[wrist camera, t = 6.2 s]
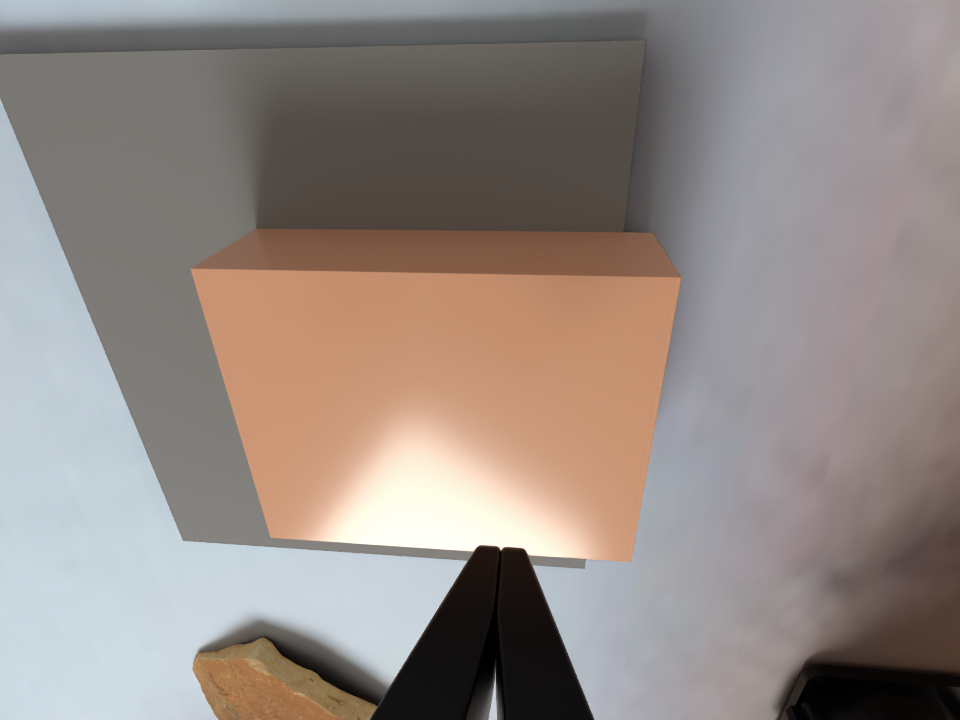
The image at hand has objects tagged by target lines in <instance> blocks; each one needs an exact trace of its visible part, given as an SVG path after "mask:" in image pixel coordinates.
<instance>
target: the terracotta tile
mask: <svg viewBox="0 0 960 720" xmlns="http://www.w3.org/2000/svg"><path fill="white" fill-rule="evenodd" d="M191 272H192V276H193V279H194V283H195V286H196V289H197V293H198V296H199V299H200V303H201V306H202V309H203V313H204V316H205V319H206V323H207V326H208V329H209V333H210V336H211V340H212V343H213V346H214V350H215V353H216V356H217V360H218V363H219V366H220V370H221V373H222V376H223V380H224V383H225V386H226V390H227V393H228V396H229V400H230V403H231V407H232V410H233V413H234V417H235V420H236V423H237V427H238V430H239V433H240V437H241V440H242V443H243V447H244V450H245V453H246V457H247V460H248V464H249V467H250V470H251V474H252V477H253V480H254V484H255V487H256V490H257V494H258V497H259V500H260V504H261V507H262V510H263V514H264V517H265V521H266V524H267V527H268V531H269V534H270V537H271V538H282V539H296V540H311V541H326V542H341V543H356V544H371V545H385V546H400V547H415V548H430V549H445V550H459V551H474V550H475V549H476V548H477V546H479V545H488V546H498V547H499V548H500V549H501V550H502V548H504V547H517V548H524V549H525V550H526V552H527V554H528V555H533V556H548V557H563V558H578V559H593V560H607V561H622V562H631V559H632V554H633V548H634V542H635V537H636V531H637V525H638V520H639V514H640V508H641V503H642V497H643V491H644V486H645V480H646V474H647V469H648V463H649V457H650V452H651V446H652V440H653V435H654V429H655V423H656V418H657V412H658V406H659V401H660V395H661V389H662V384H663V378H664V372H665V367H666V361H667V355H668V350H669V344H670V338H671V333H672V327H673V321H674V316H675V310H676V304H677V299H678V293H679V288H680V282H681V276H680V275H679V273H678V272H677V270H676V268H675V267H674V265H673V264H672V262H671V260H670V259H669V257H668V256H667V254H666V252H665V251H664V249H663V248H662V246H661V244H660V243H659V241H658V240H657V238H656V236H655V235H654V233H635V232H539V231H443V230H347V229H255V230H253V231H251V232H250V233H248V234H246V235H245V236H243V237H241V238H240V239H238V240H237V241H235V242H233V243H232V244H230V245H228V246H227V247H225V248H223V249H222V250H220V251H219V252H217V253H215V254H214V255H212V256H210V257H209V258H207V259H205V260H204V261H202V262H201V263H199V264H197V265H196V266H194V267H192V268H191Z"/></svg>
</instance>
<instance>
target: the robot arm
mask: <svg viewBox="0 0 960 720" xmlns="http://www.w3.org/2000/svg"><path fill="white" fill-rule="evenodd" d="M495 671H496V702H497V720H594V718H593V715H592V713H591V710H590V708H589V705H588V703H587V700H586V698H585V695H584V693H583V690H582V688H581V685H580V683H579V680H578V678H577V675H576V673H575V670H574V668H573V666H572V663H571V661H570V658H569V656H568V653H567V651H566V648H565V646H564V643H563V641H562V638H561V636H560V633H559V631H558V628H557V626H556V623H555V621H554V618H553V616H552V613H551V611H550V608H549V606H548V603H547V601H546V598H545V596H544V594H543V591H542V589H541V586H540V584H539V581H538V579H537V576H536V574H535V571H534V569H533V566H532V564H531V561H530V559H529V556H528V554H527V552H526V550H525V549H524V548H517V547H504V548H502V550H501V549H500V548H499V547H498V546H488V545H479V546H477V548H476V549H475V550H474V552H473V553H472V555H471V556H470V558H469V560H468V561H467V563H466V565H465V566H464V568H463V569H462V571H461V573H460V574H459V576H458V577H457V579H456V581H455V582H454V584H453V586H452V587H451V589H450V590H449V592H448V594H447V595H446V597H445V598H444V600H443V602H442V603H441V605H440V606H439V608H438V610H437V611H436V613H435V615H434V616H433V618H432V619H431V621H430V623H429V624H428V626H427V627H426V629H425V631H424V632H423V634H422V635H421V637H420V639H419V640H418V642H417V644H416V645H415V647H414V648H413V650H412V652H411V653H410V655H409V656H408V658H407V660H406V661H405V663H404V665H403V666H402V668H401V669H400V671H399V673H398V674H397V676H396V677H395V679H394V681H393V682H392V684H391V685H390V687H389V689H388V690H387V692H386V694H385V695H384V697H383V698H382V700H381V702H380V703H379V705H378V706H377V708H376V710H375V711H374V713H373V715H372V716H371V718H370V720H488V718H489V713H490V707H491V701H492V695H493V688H494V682H495ZM779 720H960V677H951V676H939V675H927V674H915V673H903V672H891V671H879V670H867V669H855V668H843V667H831V666H810V667H808V668H806V669H804V670H803V671H802V673H801V675H800V677H799V679H798V681H797V683H796V685H795V688H794V690H793V692H792V694H791V696H790V698H789V700H788V702H787V704H786V706H785V708H784V711H783V713H782V715H781V717H780V719H779Z"/></svg>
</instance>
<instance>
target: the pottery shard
mask: <svg viewBox="0 0 960 720" xmlns="http://www.w3.org/2000/svg"><path fill="white" fill-rule="evenodd" d="M193 672H194V674H195V676H196V678H197V679H198V681H199V683H200V685H201V688H202V691H203V693H204V694H205V697H206V699H207V701H208V703H209V705H210V706H211V708H212V710H213V712H214V714H215V715H216V717H217V718H218V720H370V718H371V716H372V715H373V713H374V711H375V710H376V708H377V706H376V705H375V704H373V703H370V702H368V701H365V700H363V699H360V698H358V697H356V696H353V695H351V694H349V693H347V692H344V691H342V690H340V689H338V688H336V687H335V686H333V685H331V684H330V683H328V682H326V681H324V680H323V679H321V677H320V676H319V675H318V674H317V673H315V672H313V671H311V670H308V669H305V668H303V667H301V666H299V665H296V664H295V663H293V662H292V661H290V660H289V659H287V658H285V657H284V656H282V655H281V654H280V653H279V651H278V650H277V649H276V647H275V646H274V645H273V643H272V642H270V641H269V640H267V639H266V638H264V637H263V638H259V639H258V640H256V641H254V642H252V643H247V644H235V645H232V646H229V647H226V648H223V649H221V650H215V651H209V652H203V653H198V654H197V657H196V660H195V662H194V664H193Z"/></svg>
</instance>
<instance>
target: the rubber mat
mask: <svg viewBox="0 0 960 720" xmlns="http://www.w3.org/2000/svg"><path fill="white" fill-rule="evenodd" d="M645 45H646V40H623V41H578V42H532V43H487V44H442V45H397V46H351V47H306V48H261V49H216V50H171V51H125V52H80V53H35V54H0V98H1V101H2V103H3V106H4V108H5V111H6V113H7V115H8V118H9V120H10V123H11V125H12V128H13V130H14V132H15V135H16V137H17V140H18V142H19V144H20V147H21V149H22V152H23V154H24V157H25V159H26V161H27V164H28V166H29V169H30V171H31V174H32V176H33V178H34V181H35V183H36V186H37V188H38V190H39V193H40V195H41V198H42V200H43V203H44V205H45V207H46V210H47V212H48V215H49V217H50V220H51V222H52V224H53V227H54V229H55V232H56V234H57V236H58V239H59V241H60V244H61V246H62V249H63V251H64V253H65V256H66V258H67V261H68V263H69V266H70V268H71V270H72V273H73V275H74V278H75V280H76V282H77V285H78V287H79V290H80V292H81V295H82V297H83V299H84V302H85V304H86V307H87V309H88V312H89V314H90V316H91V319H92V321H93V324H94V326H95V328H96V331H97V333H98V336H99V338H100V341H101V343H102V345H103V348H104V350H105V353H106V355H107V358H108V360H109V362H110V365H111V367H112V370H113V372H114V374H115V377H116V379H117V382H118V384H119V387H120V389H121V391H122V394H123V396H124V399H125V401H126V404H127V406H128V408H129V411H130V413H131V416H132V418H133V420H134V423H135V425H136V428H137V430H138V433H139V435H140V437H141V440H142V442H143V445H144V447H145V450H146V452H147V454H148V457H149V459H150V462H151V464H152V467H153V469H154V471H155V474H156V476H157V479H158V481H159V483H160V486H161V488H162V491H163V493H164V496H165V498H166V500H167V503H168V505H169V508H170V510H171V513H172V515H173V517H174V520H175V522H176V525H177V527H178V529H179V532H180V534H181V537H182V539H183V541H194V542H208V543H223V544H237V545H251V546H266V547H280V548H294V549H309V550H323V551H338V552H352V553H366V554H381V555H395V556H409V557H424V558H438V559H452V560H467V561H468V560H469V558H470V556H471V555H472V553H473V552H474V551H459V550H445V549H430V548H415V547H400V546H385V545H371V544H356V543H341V542H326V541H311V540H296V539H282V538H271V537H270V534H269V531H268V527H267V524H266V521H265V517H264V514H263V510H262V507H261V504H260V500H259V497H258V494H257V490H256V487H255V484H254V480H253V477H252V474H251V470H250V467H249V464H248V460H247V457H246V453H245V450H244V447H243V443H242V440H241V437H240V433H239V430H238V427H237V423H236V420H235V417H234V413H233V410H232V407H231V403H230V400H229V396H228V393H227V390H226V386H225V383H224V380H223V376H222V373H221V370H220V366H219V363H218V360H217V356H216V353H215V350H214V346H213V343H212V340H211V336H210V333H209V329H208V326H207V323H206V319H205V316H204V313H203V309H202V306H201V303H200V299H199V296H198V293H197V289H196V286H195V283H194V279H193V276H192V272H191V268H192V267H194V266H196V265H197V264H199V263H201V262H202V261H204V260H205V259H207V258H209V257H210V256H212V255H214V254H215V253H217V252H219V251H220V250H222V249H223V248H225V247H227V246H228V245H230V244H232V243H233V242H235V241H237V240H238V239H240V238H241V237H243V236H245V235H246V234H248V233H250V232H251V231H253V230H255V229H347V230H443V231H539V232H624V225H625V217H626V208H627V200H628V191H629V182H630V174H631V165H632V157H633V148H634V139H635V131H636V122H637V114H638V105H639V96H640V88H641V79H642V71H643V62H644V53H645ZM528 556H529V559H530V561H531V564H532V565H538V566H553V567H567V568H581V569H585V561H586V559H578V558H563V557H548V556H533V555H528Z"/></svg>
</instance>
